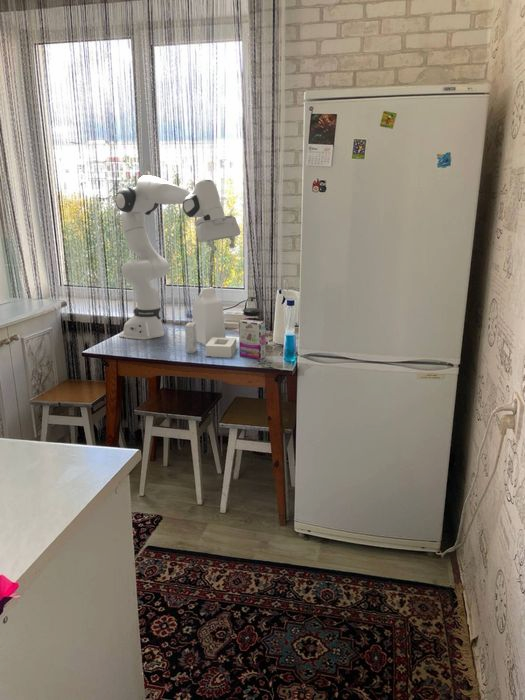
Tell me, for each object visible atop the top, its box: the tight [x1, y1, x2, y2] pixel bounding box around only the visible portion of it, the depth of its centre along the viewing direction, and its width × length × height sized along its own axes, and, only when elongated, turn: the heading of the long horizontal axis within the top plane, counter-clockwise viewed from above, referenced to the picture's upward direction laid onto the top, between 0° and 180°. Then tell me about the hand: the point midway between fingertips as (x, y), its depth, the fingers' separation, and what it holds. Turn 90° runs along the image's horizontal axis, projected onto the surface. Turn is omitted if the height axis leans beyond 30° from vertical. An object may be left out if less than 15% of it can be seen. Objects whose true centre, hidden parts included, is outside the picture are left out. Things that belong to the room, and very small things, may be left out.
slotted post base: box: [204, 337, 237, 358], centre depth 238 cm, size 12×14×5 cm
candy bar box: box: [238, 318, 267, 361], centre depth 230 cm, size 11×5×16 cm, turn 59°
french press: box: [242, 296, 263, 321], centre depth 247 cm, size 12×9×23 cm
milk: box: [192, 287, 227, 346], centre depth 254 cm, size 12×12×26 cm
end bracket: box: [184, 321, 198, 354], centre depth 238 cm, size 4×6×13 cm, turn 173°
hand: (223, 249), depth 222 cm, fingers open, 8 cm apart
